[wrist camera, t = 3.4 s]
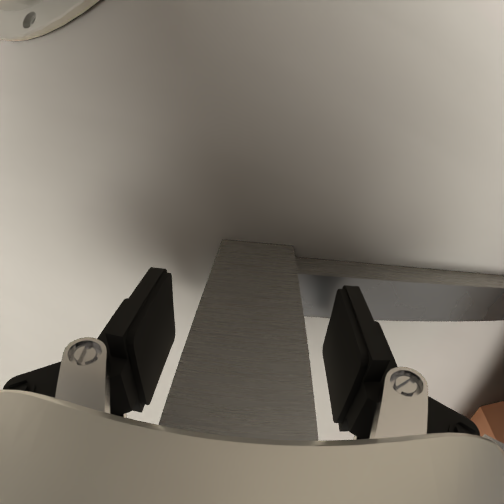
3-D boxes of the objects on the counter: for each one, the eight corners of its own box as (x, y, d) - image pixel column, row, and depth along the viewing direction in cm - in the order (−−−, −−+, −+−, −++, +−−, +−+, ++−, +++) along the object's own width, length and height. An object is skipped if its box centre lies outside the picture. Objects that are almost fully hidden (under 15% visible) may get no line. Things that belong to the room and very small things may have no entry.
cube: (479, 405, 18) (500, 450, 14) (514, 397, 18) (535, 435, 14) (452, 439, 20) (467, 481, 16) (488, 430, 20) (504, 467, 16)
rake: (222, 239, 13) (147, 460, 4) (571, 275, 13) (650, 355, 4) (218, 389, 17) (191, 547, 8) (519, 377, 17) (567, 464, 8)
